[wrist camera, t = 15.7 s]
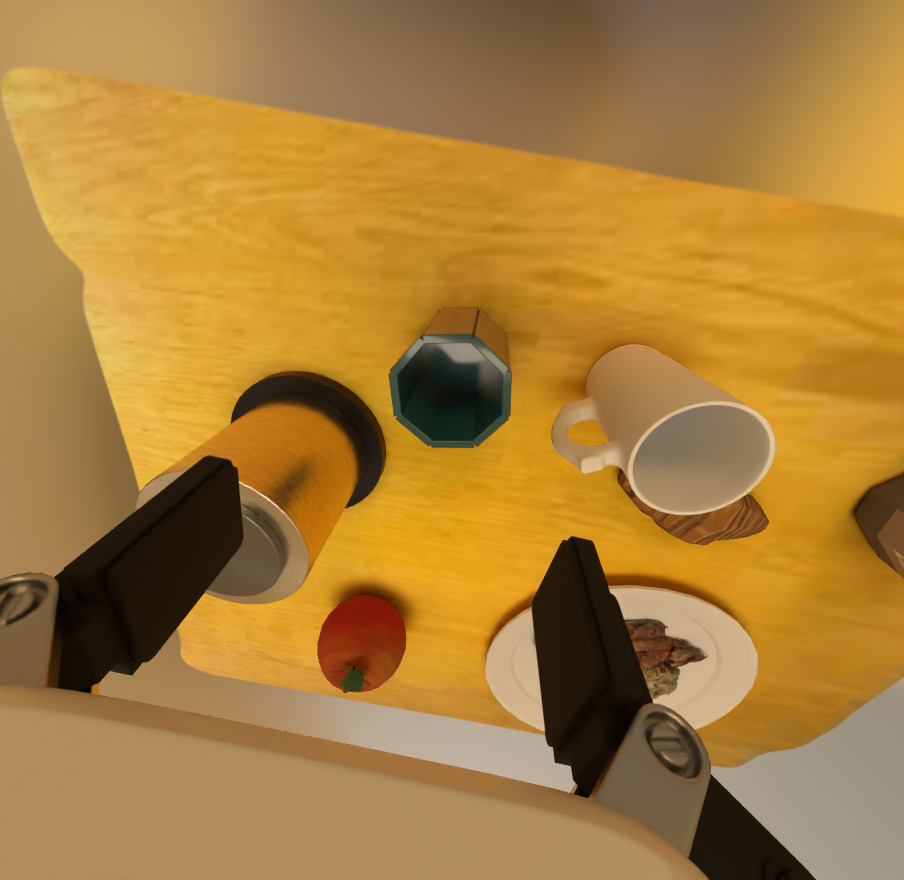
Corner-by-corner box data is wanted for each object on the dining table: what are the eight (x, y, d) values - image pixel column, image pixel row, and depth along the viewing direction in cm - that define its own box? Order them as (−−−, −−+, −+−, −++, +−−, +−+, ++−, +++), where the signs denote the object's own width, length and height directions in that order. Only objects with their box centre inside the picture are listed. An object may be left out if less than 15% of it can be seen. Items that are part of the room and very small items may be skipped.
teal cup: (459, 286, 27) (445, 306, 20) (525, 352, 29) (536, 395, 21) (400, 355, 30) (367, 395, 22) (463, 411, 32) (453, 467, 24)
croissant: (597, 497, 35) (612, 534, 30) (636, 437, 32) (659, 468, 27) (728, 541, 36) (761, 583, 31) (779, 486, 33) (824, 525, 28)
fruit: (324, 616, 47) (285, 702, 38) (349, 569, 43) (311, 655, 34) (394, 644, 48) (372, 734, 39) (425, 601, 44) (408, 692, 35)
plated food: (679, 744, 53) (690, 774, 50) (467, 704, 53) (466, 732, 50) (805, 602, 38) (831, 632, 35) (514, 550, 39) (515, 576, 36)
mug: (674, 330, 27) (786, 388, 17) (672, 413, 30) (766, 507, 20) (534, 359, 29) (556, 427, 19) (545, 434, 32) (570, 529, 22)
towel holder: (286, 336, 30) (150, 401, 18) (416, 445, 34) (374, 559, 22) (213, 441, 36) (71, 544, 24) (331, 526, 40) (260, 652, 28)
